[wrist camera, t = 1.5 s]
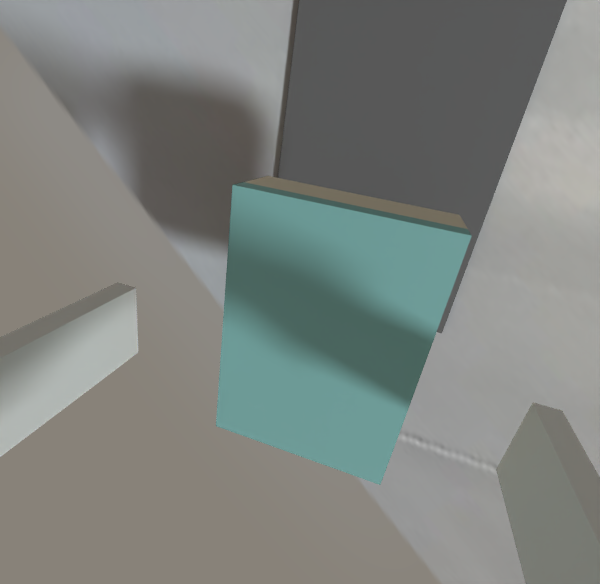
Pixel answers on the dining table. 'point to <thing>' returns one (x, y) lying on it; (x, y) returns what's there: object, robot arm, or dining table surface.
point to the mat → (413, 99)
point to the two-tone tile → (330, 318)
